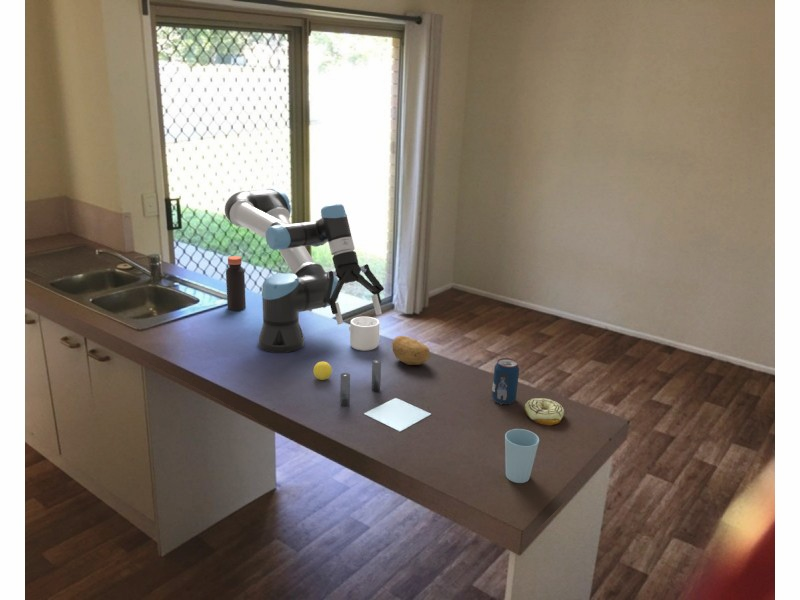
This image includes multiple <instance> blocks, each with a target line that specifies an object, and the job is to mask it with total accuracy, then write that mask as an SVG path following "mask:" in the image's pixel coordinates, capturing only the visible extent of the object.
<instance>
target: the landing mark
mask: <svg viewBox="0 0 800 600" xmlns="http://www.w3.org/2000/svg"><path fill="white" fill-rule="evenodd" d="M363 415H365V416H367V417H369V418H370V419H373V420H375V421H377V422H379V423H381V424H383V425H384V426H388V427H389V428H391V429H393V430H395V431H397V432H400V433H401V432H403V431H404V430H406V429H408V428H410V427H412V426H414V425H415V424H417V423H419V422H420V421H423V420H424V419H426V418H427V417H430V416H431V415H432V413H430V412H428V411H426V410H424V409H421V408H420V407H417V406H415V405H412V404H410V403H409V402H406V401H404V400H402V399H399V398H397V397H395V398H392V399H390V400H389V401H386V402H385V403H383V404H380V405H378V406H376V407H374V408H372V409H370V410H368V411H366V412H364V413H363Z"/></svg>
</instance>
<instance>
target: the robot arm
mask: <svg viewBox="0 0 800 600" xmlns="http://www.w3.org/2000/svg"><path fill="white" fill-rule="evenodd" d="M290 203H291V201H290V199H289V196H288V195H287V194H286V193H285V192H284V191H283V190H281V189H279V188H277V189H275V188H268V189H267V188H266V189H260V190H259V189H258V190H257V189H256V190H246V191H244V190H243V191H238V192H236V193H234V194H232V195H231V196H230V197H229V198H228V199H227V201H226V203H225V205H224V214H225V217H226V219H227V220H228V222H229V223H231V224H232V225H234V226H236V227H238V228H245V229H247V230H249V231H250V232H253V233H255V234H257V235H258V236H260V237H262V238H264V239H265V241H266V244H267V245H268V247H269V249H271V250H274V251H276V250H278V252H279V253H280V255H281V256H282V258H283V260H284V262H285V263H286V266H287V267H288V268H289V270H290V272H291V273H290V272H289V273H288V272H286V273H276V274H274V275H270V276H268V277H267V278H266V279H265V280H264V281H262V282H263V283H262V288H261V290H262V291H261V297H262V299H261V300H262V321H263V322H262V326H261V330H260V333H259V335H258V341H257V343H258V347H259V349H261V350H262V351H265V352H269V353H276V354H279V353H282V354H283V353H291V352H296V351H297V350H301V348H303V347H304V345H305V336H304V334H303V333H304V332H303V330H302V328H301V325H300V321H299V320H300V315H299V314H300V313H301V312H307V311H311V310H318V309H325V308H327V307H329V306H330V310H331V313H332V315H334V316H335V319H336V322H337V323H336V324H337V325H341V324H344V320H343V317H342V312H341V308H340V304H339V302H337V300H338V299H339V295H340V292H342V291H341V290H342V289H343V286H344V285H346V284H348V283H354V282H356V283H359V284H361V286H363V287H364V288H365V289H366V290H368V291H369V292H370V293H371V294H372V295H371V300H372V305H373V309H374V312H375V317H377V316H380V315H383V314H382V313H383V312H382V309H381V303H382V300H381V296H380V294H381V292H383V291H384V289H385V288H384V286H383V285H382V284H381V283H380V281H379V280H378V279H377V278H376V276H375V274H374V273H373V272H372V271H371V268H370V266H369V264H367V263H366V264H364V265H361V266H360V265H359V260H358V256H357V252H356V251H354V250H355V249H356V248H355V243H354V240H353V237H352V233H351V228H350V224H349V220H348V214H347V212H346V210H345V206H344V205H343V204H341V203H333V204H328V205H325V206H323V207H322V208H321V209H320V216H321V218H319V219H318V220H313V221H304V222H296V223H292V222H291V221H290V218H291V213H292V205H291V204H290ZM327 243H328V246H329V250H330V254H331V256H332V261H333V266H334V270H335V271H332V270H329V271H328V270H327V271H325V269H324V267H323V266H322V265H321V264H320V263H319V262H318V263H317V262H315V261H314V259H313V258H312V256H311V254H310V252H309V251H308V250H307V248H306V247H308V246H311V247H313V248H314V247H316V248H317V247H320V246H324V245H325V244H327ZM361 273H363V274H364V276H365V277H366V278H367V279H366V278H365V277H364V276H363V275H362V274H361Z"/></svg>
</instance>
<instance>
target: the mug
mask: <svg viewBox="0 0 800 600" xmlns="http://www.w3.org/2000/svg"><path fill="white" fill-rule="evenodd" d="M380 324H381V323H380V321H379V319H378V318H375V317H371V316H357V317H354V318H352V319H351V320H350V325H349V327H348V330H349V338H350V339H349V341H350V342H349V343H350V344H349V345H350V346H351V347H352V348H353V349H355V350H358V351H363V352H365V351H366V352H367V351H372V350H375V349H376V348H377V347H379V344H380Z"/></svg>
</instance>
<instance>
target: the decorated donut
mask: <svg viewBox="0 0 800 600" xmlns="http://www.w3.org/2000/svg"><path fill="white" fill-rule="evenodd" d="M524 410H525V413H526V416H528V417H529V419H530V420H532V421H534V422H535V423H536V424H540V425H544V426H554V425H557V424H559V423H560V422H561V421H562V419H563V417H564V415H565V410H564V407H563V406H562V404H560V403H559V402H557V401H556V400H552V399H550V398H544V397H543V398H542V397H541V398H539V397H537V398H531V399H529V400H528V401H526V403H525V404H524Z"/></svg>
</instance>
